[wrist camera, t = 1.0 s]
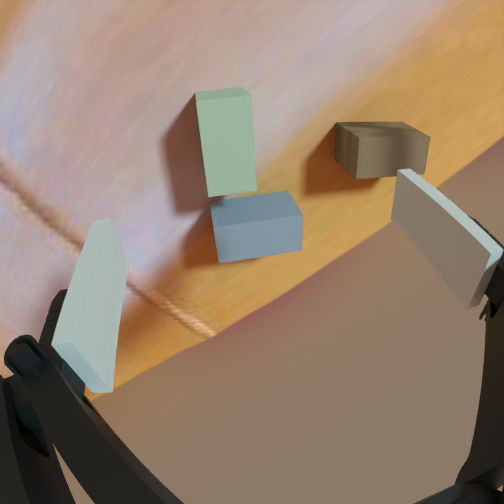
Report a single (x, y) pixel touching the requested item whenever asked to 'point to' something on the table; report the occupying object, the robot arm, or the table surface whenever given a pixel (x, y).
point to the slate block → (256, 226)
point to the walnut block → (380, 148)
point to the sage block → (227, 140)
